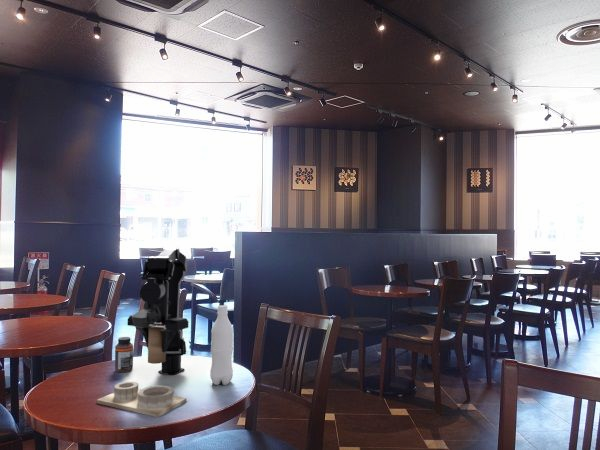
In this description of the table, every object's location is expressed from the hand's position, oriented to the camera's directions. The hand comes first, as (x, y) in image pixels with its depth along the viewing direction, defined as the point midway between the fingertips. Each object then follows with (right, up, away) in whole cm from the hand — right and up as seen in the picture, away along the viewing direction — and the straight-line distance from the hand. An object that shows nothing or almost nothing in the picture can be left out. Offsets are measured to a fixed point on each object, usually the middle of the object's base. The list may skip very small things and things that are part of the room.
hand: (156, 351), depth 133 cm
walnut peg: (0, -3, 0) cm, 3 cm away
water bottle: (+17, -14, +13) cm, 25 cm away
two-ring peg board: (-3, -13, -5) cm, 15 cm away
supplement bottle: (-19, -14, +24) cm, 34 cm away
